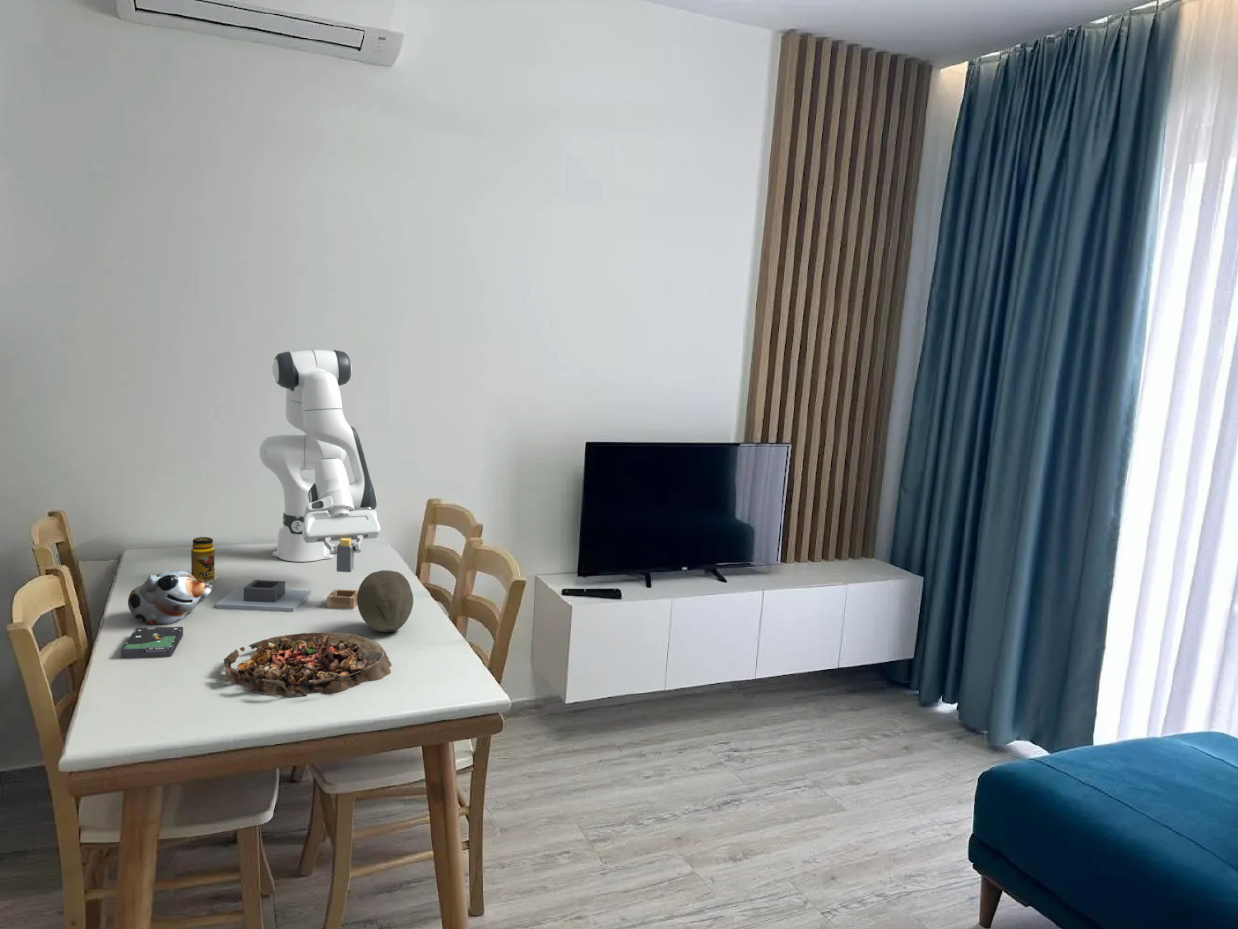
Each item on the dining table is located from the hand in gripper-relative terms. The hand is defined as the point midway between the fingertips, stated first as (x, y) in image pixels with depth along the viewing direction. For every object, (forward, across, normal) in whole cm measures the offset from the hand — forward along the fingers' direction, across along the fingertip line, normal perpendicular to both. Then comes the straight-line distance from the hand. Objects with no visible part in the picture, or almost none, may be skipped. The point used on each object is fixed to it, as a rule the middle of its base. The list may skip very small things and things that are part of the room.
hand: (346, 552), depth 248 cm
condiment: (-15, +32, -37) cm, 51 cm away
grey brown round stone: (+27, -4, +6) cm, 28 cm away
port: (+3, +19, -18) cm, 26 cm away
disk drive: (+22, +47, +1) cm, 52 cm away
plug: (+3, 0, -4) cm, 5 cm away
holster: (+10, 0, -11) cm, 15 cm away
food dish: (+41, +18, +21) cm, 49 cm away
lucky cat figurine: (+8, +42, -13) cm, 45 cm away
